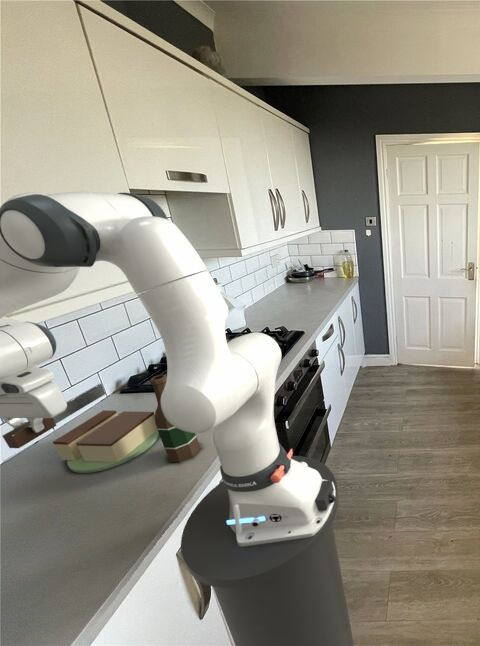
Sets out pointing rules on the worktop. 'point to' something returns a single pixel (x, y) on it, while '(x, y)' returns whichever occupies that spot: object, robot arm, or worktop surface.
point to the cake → (116, 442)
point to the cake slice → (80, 435)
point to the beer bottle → (172, 429)
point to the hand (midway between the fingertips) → (30, 430)
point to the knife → (23, 434)
